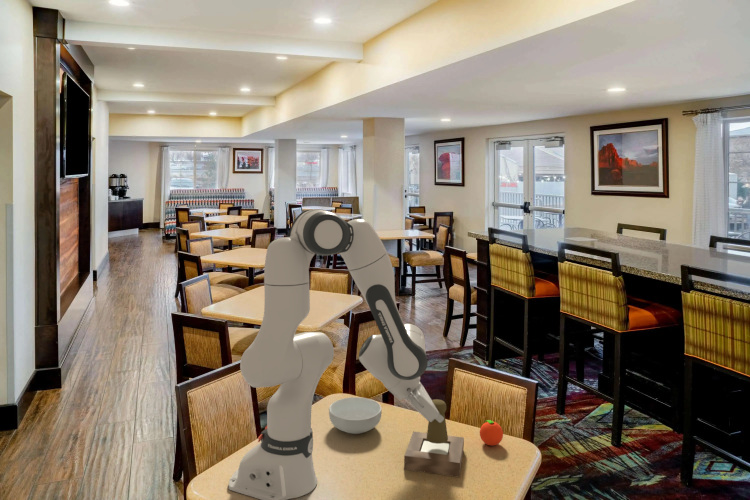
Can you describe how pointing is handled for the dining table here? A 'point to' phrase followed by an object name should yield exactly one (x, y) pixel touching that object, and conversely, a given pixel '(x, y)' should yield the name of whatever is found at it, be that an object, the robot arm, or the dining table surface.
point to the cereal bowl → (355, 414)
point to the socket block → (434, 456)
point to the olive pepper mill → (438, 425)
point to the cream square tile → (435, 447)
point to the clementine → (491, 433)
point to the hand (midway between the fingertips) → (439, 415)
